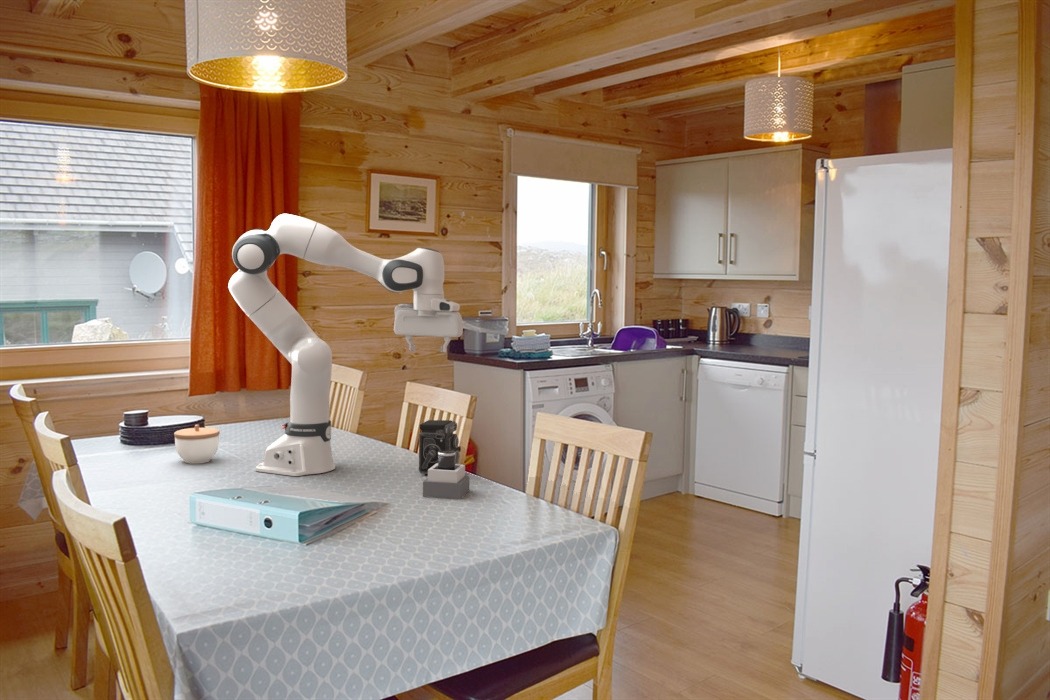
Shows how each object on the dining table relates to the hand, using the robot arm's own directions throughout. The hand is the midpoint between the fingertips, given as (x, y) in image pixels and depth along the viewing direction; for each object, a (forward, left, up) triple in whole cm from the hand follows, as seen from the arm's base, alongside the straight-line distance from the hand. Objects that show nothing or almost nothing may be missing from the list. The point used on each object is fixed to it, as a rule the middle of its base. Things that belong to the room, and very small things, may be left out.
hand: (427, 351), depth 233 cm
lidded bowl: (-70, -8, -35) cm, 78 cm away
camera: (+5, -4, -35) cm, 36 cm away
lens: (+13, -25, -31) cm, 42 cm away
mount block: (+13, -25, -35) cm, 45 cm away
